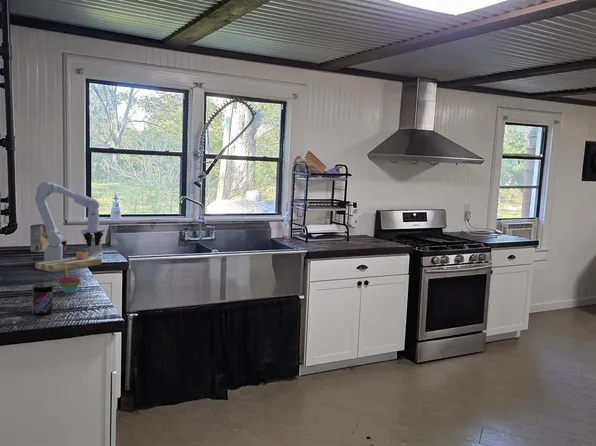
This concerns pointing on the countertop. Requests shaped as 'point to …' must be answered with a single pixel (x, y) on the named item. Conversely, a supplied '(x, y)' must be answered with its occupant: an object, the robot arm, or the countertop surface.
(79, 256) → the fader knob
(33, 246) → the coffee box
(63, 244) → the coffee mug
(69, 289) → the cupcake
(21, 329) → the countertop surface
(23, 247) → the countertop surface
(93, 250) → the french press
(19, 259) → the countertop surface
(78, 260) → the fader console
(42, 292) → the supplement container
